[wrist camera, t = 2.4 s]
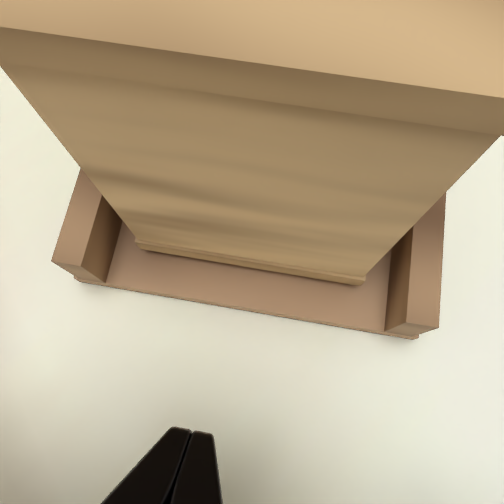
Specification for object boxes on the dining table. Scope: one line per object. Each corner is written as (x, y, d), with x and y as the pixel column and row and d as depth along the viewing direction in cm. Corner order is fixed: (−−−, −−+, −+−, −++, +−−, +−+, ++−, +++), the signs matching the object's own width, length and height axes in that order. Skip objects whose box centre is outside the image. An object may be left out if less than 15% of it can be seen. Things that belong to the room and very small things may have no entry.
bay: (412, 339, 17) (508, 310, 10) (79, 281, 17) (-20, 221, 11) (441, -65, 23) (513, -240, 16) (190, -95, 23) (166, -274, 17)
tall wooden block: (357, 288, 17) (546, 103, 6) (142, 252, 17) (-50, 19, 6) (378, 100, 19) (539, -277, 8) (188, 73, 19) (106, -318, 9)
